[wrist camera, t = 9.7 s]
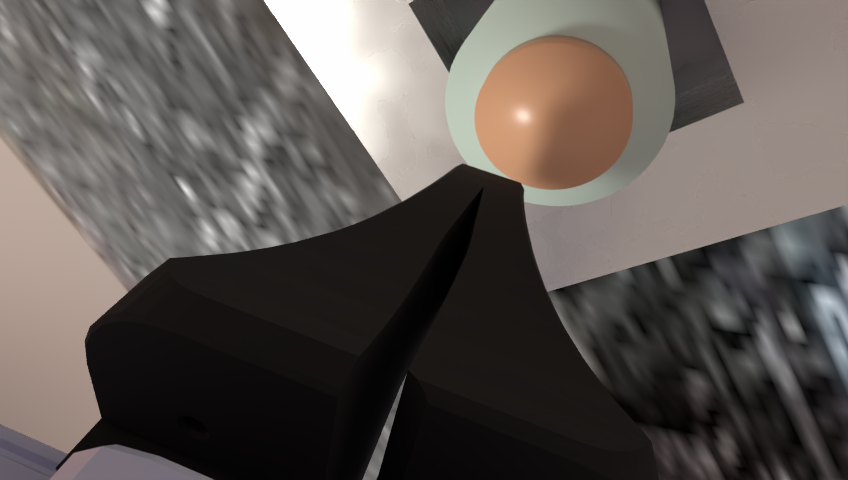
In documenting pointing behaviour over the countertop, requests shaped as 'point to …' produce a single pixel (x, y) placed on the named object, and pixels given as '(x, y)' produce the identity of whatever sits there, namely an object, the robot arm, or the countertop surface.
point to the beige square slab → (679, 156)
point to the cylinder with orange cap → (563, 95)
